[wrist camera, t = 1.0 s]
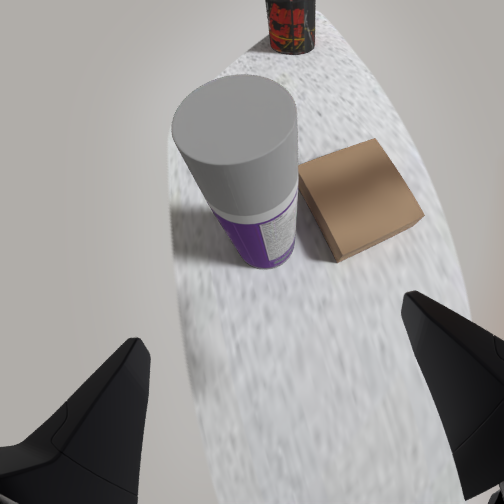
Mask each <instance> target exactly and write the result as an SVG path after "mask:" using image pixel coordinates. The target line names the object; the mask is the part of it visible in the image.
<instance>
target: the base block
mask: <svg viewBox="0 0 504 504" xmlns="http://www.w3.org/2000/svg"><path fill="white" fill-rule="evenodd" d="M298 188H299V190H300V192H301V194H302V195H303V197H304V199H305V201H306V203H307V205H308V207H309V208H310V210H311V212H312V214H313V216H314V218H315V220H316V222H317V224H318V226H319V228H320V230H321V231H322V233H323V235H324V237H325V239H326V241H327V243H328V245H329V247H330V249H331V251H332V254H333V256H334V258H335V260H336V262H337V263H339V262H341V261H343V260H345V259H347V258H349V257H351V256H353V255H356V254H358V253H360V252H362V251H364V250H366V249H368V248H370V247H372V246H374V245H376V244H378V243H380V242H382V241H384V240H386V239H388V238H391V237H393V236H395V235H397V234H399V233H401V232H402V231H404V230H406V229H408V228H410V227H412V226H414V225H415V224H416V223H417V222H418V221H419V220H420V219H421V218H422V217H424V216H425V215H424V213H423V211H422V209H421V208H420V206H419V204H418V202H417V201H416V199H415V197H414V196H413V194H412V192H411V191H410V189H409V188H408V186H407V184H406V183H405V181H404V180H403V178H402V176H401V175H400V173H399V172H398V170H397V169H396V167H395V166H394V164H393V163H392V161H391V160H390V158H389V157H388V155H387V154H386V153H385V151H384V150H383V148H382V147H381V146H380V144H379V143H378V141H377V140H376V139H375V138H374V139H371V140H368V141H365V142H362V143H359V144H356V145H353V146H350V147H347V148H345V149H342V150H339V151H336V152H333V153H330V154H328V155H325V156H322V157H319V158H317V159H314V160H311V161H309V162H306V163H303V164H301V165H298Z"/></svg>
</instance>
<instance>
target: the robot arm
mask: <svg viewBox="0 0 504 504" xmlns="http://www.w3.org/2000/svg"><path fill="white" fill-rule="evenodd" d="M401 316H402V319H403V322H404V325H405V328H406V331H407V334H408V337H409V340H410V343H411V346H412V349H413V352H414V355H415V357H416V359H417V362H418V364H419V366H420V368H421V371H422V373H423V375H424V378H425V380H426V383H427V385H428V387H429V390H430V392H431V395H432V397H433V400H434V403H435V405H436V408H437V410H438V413H439V416H440V419H441V421H442V424H443V427H444V430H445V433H446V436H447V439H448V442H449V445H450V448H451V451H452V455H453V458H454V461H455V465H456V468H457V472H458V476H459V479H460V483H461V487H462V491H463V495H464V499H465V501H466V500H469V499H471V498H473V497H475V496H477V495H479V494H481V493H483V492H485V491H487V490H489V489H490V488H492V487H494V486H496V485H498V484H499V487H500V490H498V491H497V492H496V493H494V494H492V496H491V498H490V500H489V502H488V504H504V341H503V340H502V339H500V338H498V337H497V336H495V335H494V336H493V334H492V333H490V332H488V331H486V330H485V329H483V328H482V327H480V326H478V325H477V324H475V323H473V322H471V321H470V320H468V319H466V318H465V317H463V316H461V315H459V314H458V313H456V312H454V311H452V310H451V309H449V308H447V307H445V306H443V305H442V304H440V303H438V302H436V301H435V300H433V299H431V298H429V297H427V296H425V295H424V294H422V293H420V292H418V291H416V290H415V291H410V292H407V293H405V294H404V298H403V304H402V309H401ZM150 360H151V358H150V354H149V351H148V350H147V348H146V347H145V345H144V343H143V342H142V340H141V339H140V338H129V339H127V340H126V341H125V342H124V343H123V344H122V345H121V346H120V347H119V348H118V349H117V350H116V351H115V352H114V353H113V354H112V355H111V356H110V357H109V358H108V359H107V360H106V361H105V362H104V363H103V364H102V365H101V366H100V367H99V368H98V369H97V370H96V371H95V372H94V373H93V374H92V375H91V376H90V377H89V378H88V379H87V380H86V381H85V382H84V383H83V384H82V385H81V386H80V388H78V390H76V392H75V393H74V394H73V395H72V396H71V397H70V398H69V399H68V400H67V401H66V402H65V403H64V404H63V405H62V406H61V407H60V408H59V409H58V410H57V411H56V412H55V413H54V414H53V415H52V416H51V417H50V418H49V419H48V420H47V421H45V422H44V423H43V424H42V425H41V426H40V427H39V428H38V429H37V430H35V431H34V432H33V433H32V434H31V435H30V436H28V437H27V438H26V439H25V440H24V441H23V442H21V443H19V444H17V445H14V446H6V447H0V504H137V503H138V485H139V471H140V461H141V451H142V442H143V434H144V426H145V418H146V411H147V404H148V396H149V378H150Z"/></svg>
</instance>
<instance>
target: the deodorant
mask: <svg viewBox="0 0 504 504" xmlns="http://www.w3.org/2000/svg"><path fill="white" fill-rule="evenodd" d="M265 1H266V9H267V18H268V26H269V35H270V44H271V47H272V48H273V49H274V50H275V51H277V52H280V53H283V54H289V55H300V54H305V53H308V52H310V51H311V50H313V48H314V46H315V0H265Z"/></svg>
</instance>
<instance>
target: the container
mask: <svg viewBox="0 0 504 504" xmlns="http://www.w3.org/2000/svg"><path fill="white" fill-rule="evenodd" d="M172 137H173V140H174V142H175V144H176V146H177V148H178V150H179V151H180V153H181V155H182V157H183V159H184V161H185V163H186V164H187V166H188V168H189V170H190V172H191V174H192V175H193V177H194V179H195V181H196V183H197V184H198V186H199V188H200V190H201V192H202V194H203V195H204V197H205V199H206V201H207V203H208V205H209V206H210V208H211V210H212V211H213V213H214V214H215V216H216V217H217V219H218V221H219V222H220V224H221V225H222V227H223V229H224V230H225V232H226V233H227V235H228V236H229V238H230V240H231V241H232V243H233V244H234V246H235V247H236V249H237V251H238V252H239V254H240V255H241V257H242V258H243V259H244V260H245V261H246V262H247V263H248V264H249V265H251V266H253V267H255V268H258V269H272V268H276V267H278V266H280V265H282V264H283V263H284V262H286V261H287V260H288V258H289V257H290V255H291V254H292V252H293V249H294V243H295V231H296V216H297V199H298V130H297V108H296V104H295V101H294V99H293V97H292V96H291V94H290V93H289V92H288V91H287V90H286V89H285V88H284V87H283V86H281V85H280V84H278V83H277V82H275V81H273V80H271V79H268V78H265V77H261V76H256V75H231V76H226V77H222V78H218V79H215V80H213V81H210V82H208V83H206V84H204V85H202V86H200V87H199V88H197V89H196V90H194V91H193V92H192V93H191V94H189V95H188V96H187V97H186V98H185V99H184V100H183V101H182V103H181V104H180V106H179V107H178V108H177V110H176V112H175V114H174V117H173V121H172Z"/></svg>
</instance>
